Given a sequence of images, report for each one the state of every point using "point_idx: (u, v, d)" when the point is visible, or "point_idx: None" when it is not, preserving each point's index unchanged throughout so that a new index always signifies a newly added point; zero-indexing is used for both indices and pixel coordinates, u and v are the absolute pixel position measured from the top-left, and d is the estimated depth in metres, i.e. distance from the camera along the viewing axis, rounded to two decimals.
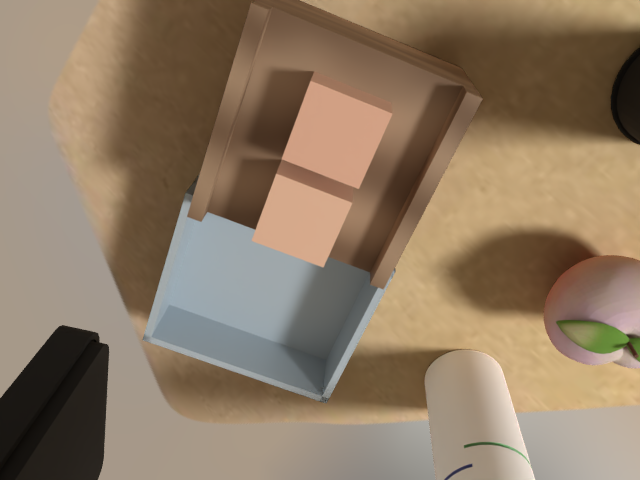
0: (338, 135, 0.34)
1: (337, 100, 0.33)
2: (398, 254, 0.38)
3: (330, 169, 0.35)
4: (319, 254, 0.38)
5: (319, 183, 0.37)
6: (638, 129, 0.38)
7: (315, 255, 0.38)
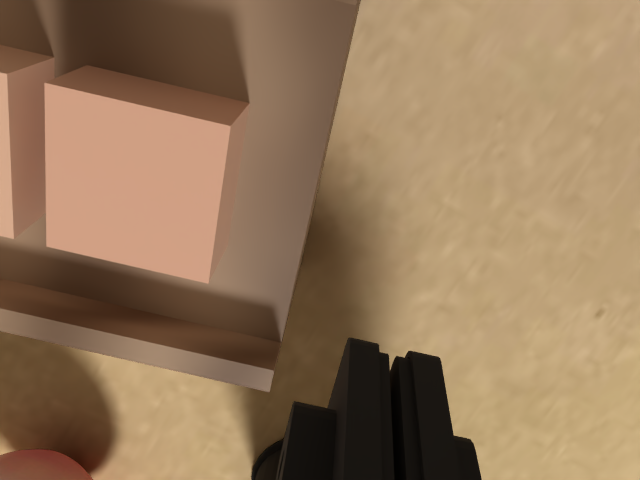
0: (138, 195, 0.17)
1: (206, 184, 0.16)
2: None
3: (63, 189, 0.17)
4: None
5: (30, 158, 0.17)
6: None
7: None
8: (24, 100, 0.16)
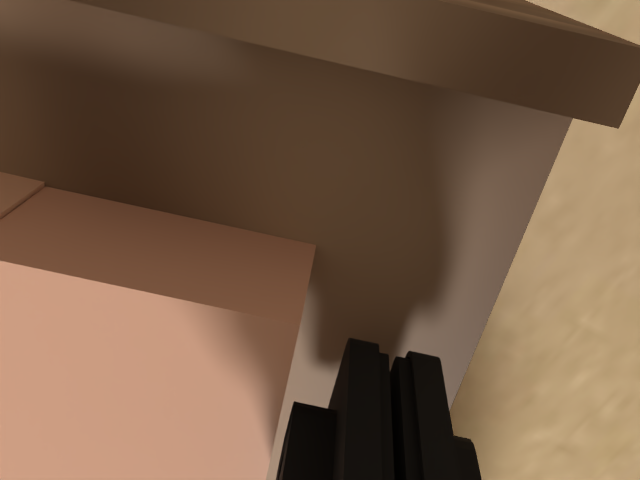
0: (132, 423, 0.10)
1: (251, 410, 0.09)
2: None
3: (4, 411, 0.10)
4: None
5: None
6: None
7: None
8: None
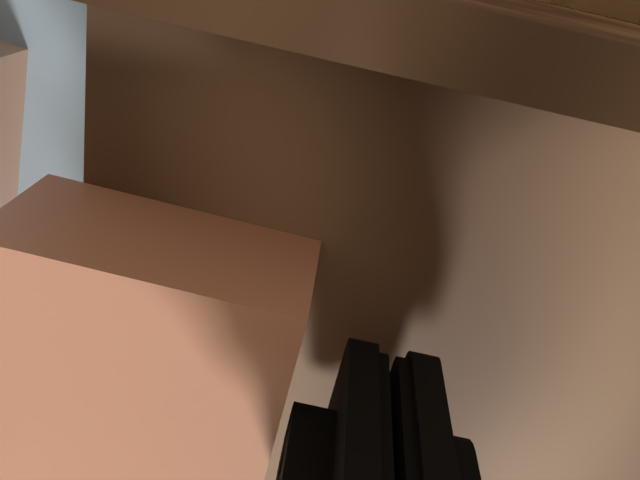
0: (132, 415, 0.09)
1: (253, 406, 0.09)
2: None
3: (0, 401, 0.10)
4: None
5: None
6: None
7: None
8: None
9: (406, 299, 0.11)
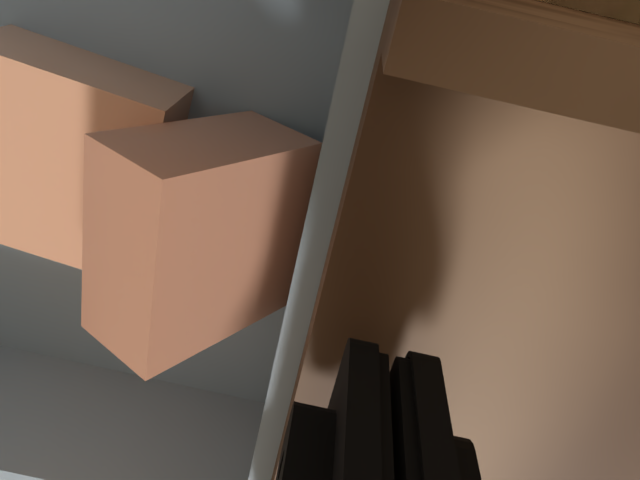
0: None
1: None
2: None
3: None
4: None
5: None
6: None
7: None
8: None
9: None
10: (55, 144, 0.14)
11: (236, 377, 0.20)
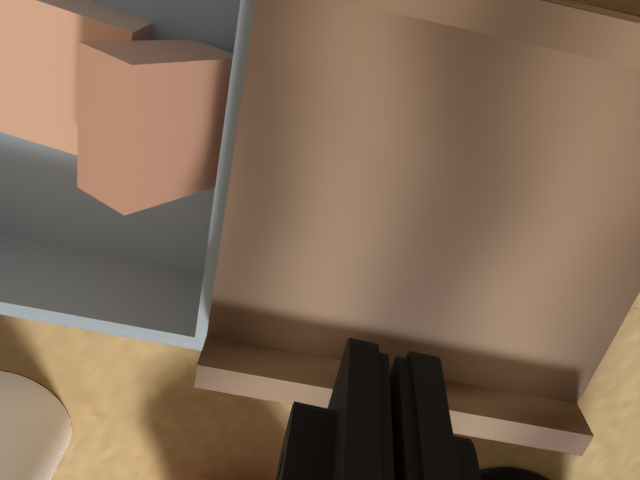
0: None
1: None
2: (277, 397, 0.20)
3: None
4: None
5: None
6: None
7: None
8: None
9: (438, 171, 0.18)
10: (55, 58, 0.20)
11: (193, 253, 0.26)
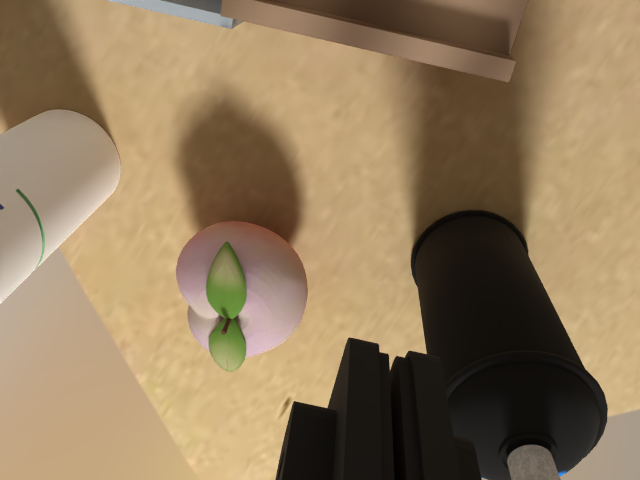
0: None
1: None
2: (281, 25, 0.27)
3: None
4: None
5: None
6: (449, 248, 0.37)
7: None
8: None
9: None
10: None
11: None
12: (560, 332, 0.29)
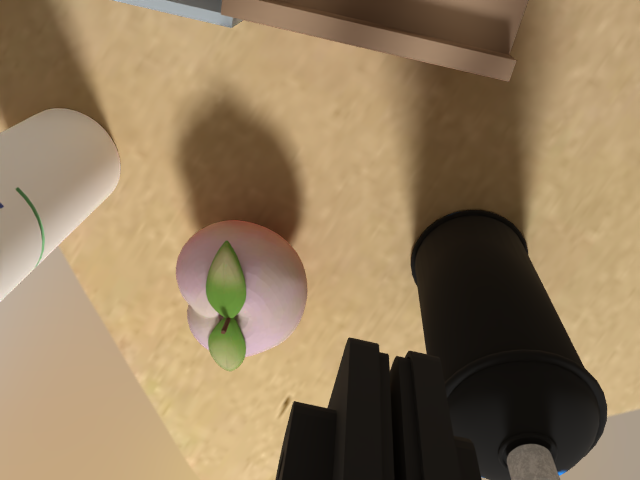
0: None
1: None
2: (281, 24, 0.27)
3: None
4: None
5: None
6: (449, 248, 0.37)
7: None
8: None
9: None
10: None
11: None
12: (560, 331, 0.29)
